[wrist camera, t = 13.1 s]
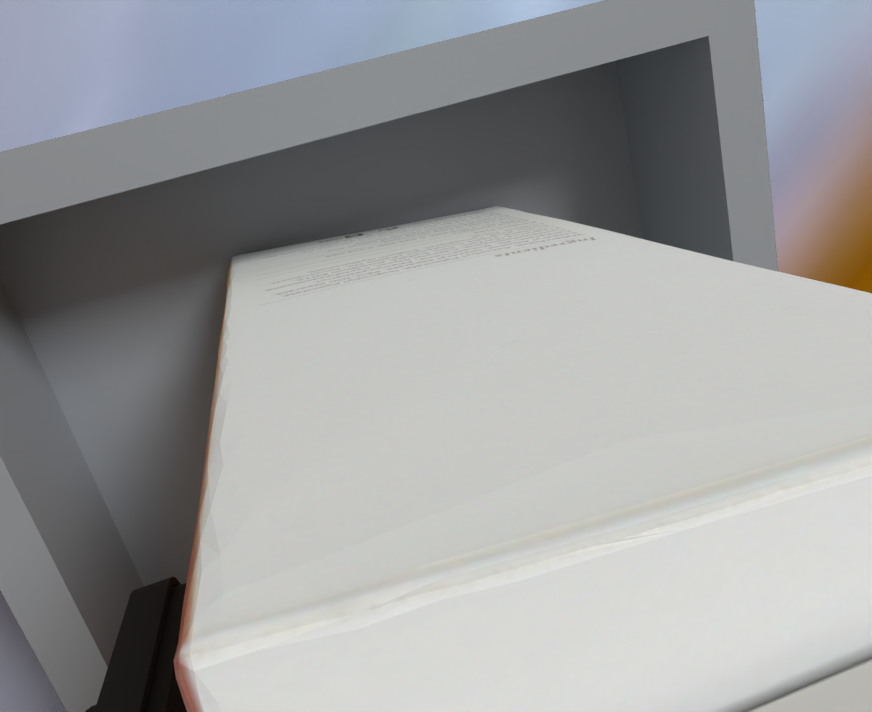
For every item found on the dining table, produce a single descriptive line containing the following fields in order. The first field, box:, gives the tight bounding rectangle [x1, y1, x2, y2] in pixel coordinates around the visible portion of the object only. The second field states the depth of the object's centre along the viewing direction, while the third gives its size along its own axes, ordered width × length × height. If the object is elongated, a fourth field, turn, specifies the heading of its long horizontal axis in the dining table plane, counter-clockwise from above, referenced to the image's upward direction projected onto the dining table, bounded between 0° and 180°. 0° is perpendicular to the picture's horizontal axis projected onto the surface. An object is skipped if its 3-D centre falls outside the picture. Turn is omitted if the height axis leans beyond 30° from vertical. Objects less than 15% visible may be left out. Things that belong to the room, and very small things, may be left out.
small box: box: [173, 206, 872, 712], centre depth 11 cm, size 8×6×13 cm
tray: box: [0, 0, 778, 712], centre depth 16 cm, size 14×16×4 cm
